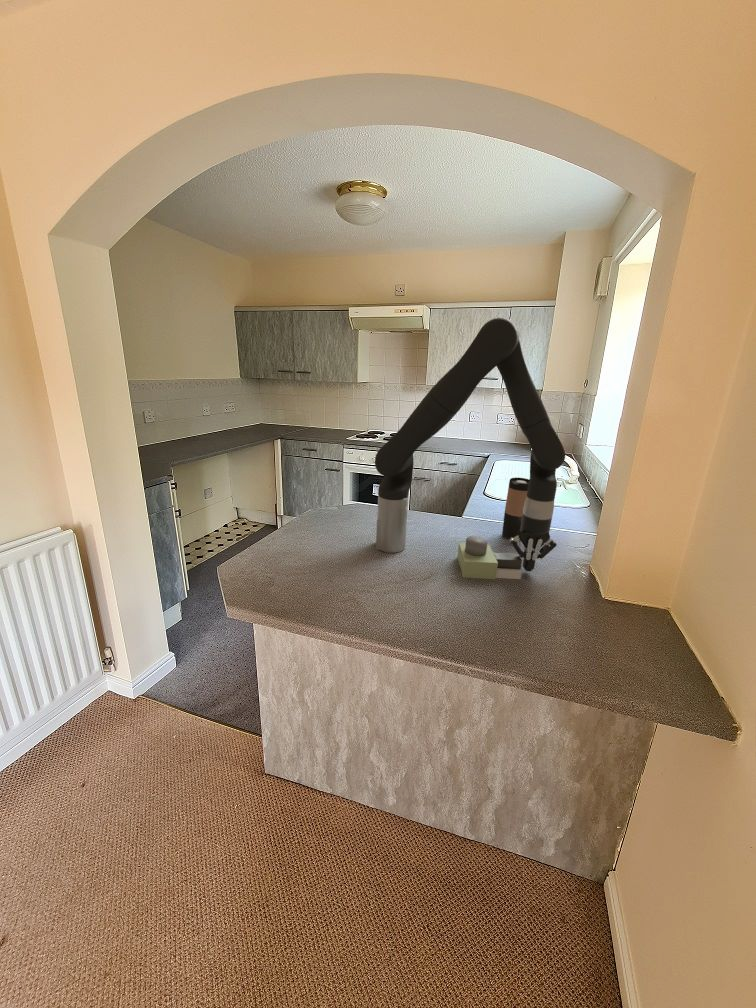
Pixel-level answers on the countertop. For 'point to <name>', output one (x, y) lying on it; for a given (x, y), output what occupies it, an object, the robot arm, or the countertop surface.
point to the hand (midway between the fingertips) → (527, 570)
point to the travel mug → (514, 506)
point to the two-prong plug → (481, 561)
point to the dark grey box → (508, 561)
